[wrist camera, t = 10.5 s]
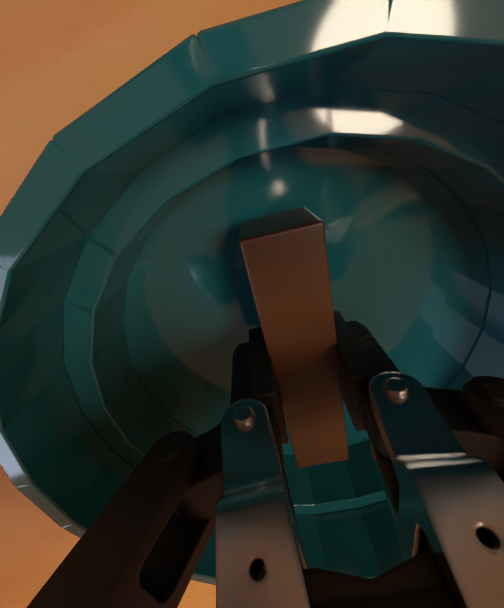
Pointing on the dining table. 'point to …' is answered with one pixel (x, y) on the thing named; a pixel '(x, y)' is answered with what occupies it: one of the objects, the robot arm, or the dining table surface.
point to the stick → (298, 328)
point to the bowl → (227, 254)
